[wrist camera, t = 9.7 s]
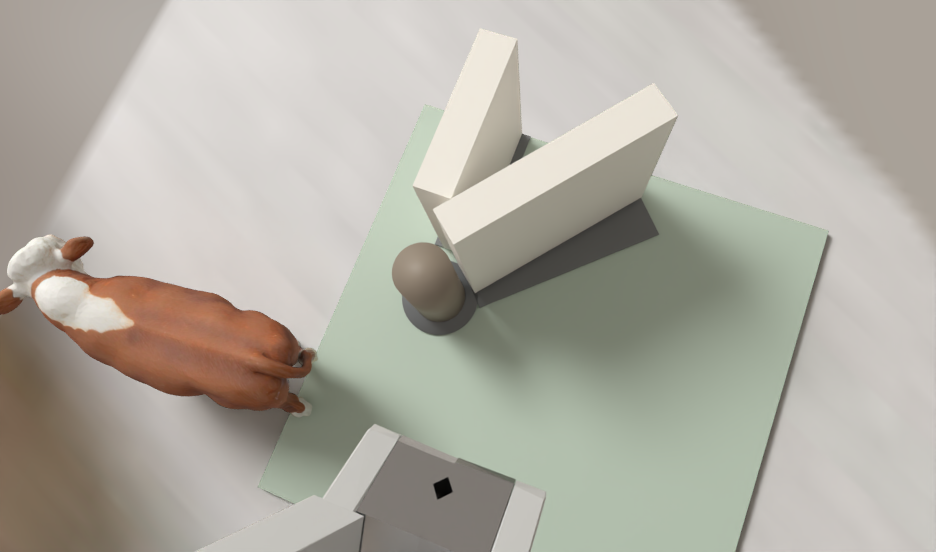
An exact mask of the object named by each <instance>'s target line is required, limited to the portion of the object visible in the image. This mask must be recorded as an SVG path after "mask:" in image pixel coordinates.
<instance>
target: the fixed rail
mask: <svg viewBox="0 0 936 552" xmlns="http://www.w3.org/2000/svg"><path fill="white" fill-rule="evenodd" d="M521 135H522V124H521V104H520V83H519V63H518V43H517V39H516V38H512V37H509V36H505V35H502V34H498V33H495V32H491V31H488V30H484V29H481V28H480V29H479V32H478V34H477V36H476V39H475V41H474V43H473V46H472V48H471V50H470V53H469V55H468V57H467V60H466V62H465V64H464V67H463V69H462V71H461V74H460V76H459V78H458V81H457V83H456V85H455V88H454V90H453V92H452V95H451V97H450V99H449V102H448V104H447V106H446V109H445V111H444V113H443V116H442V118H441V120H440V123H439V125H438V127H437V130H436V132H435V134H434V137H433V139H432V141H431V144H430V146H429V148H428V151H427V153H426V155H425V158H424V160H423V162H422V165H421V167H420V169H419V172H418V174H417V176H416V179H415V181H414V183H413V188H414V190H415V192H416V194H417V196H418V198H419V200H420V202H421V204H422V206H423V208H424V210H425V212H426V214H427V216H428V218H429V220H430V222H431V224H432V226H433V228H434V230H435V232H436V234H437V236H438V237H439V239H440V241H441V243H442V245H443V247H444V248H446V249H449V250H451V248H450V246H449V243H448V241H447V239H446V237H445V235H444V233H443V231H442V228H441V226H440V224H439V222H438V220H437V218H436V216H435V213H434V211H433V209H434V208H436V207H437V206H439V205H441V204H443V203H444V202H446V201H448V200H450V199H451V198H453V197H455V196H457V195H458V194H460V193H462V192H464V191H465V190H467V189H469V188H471V187H472V186H474V185H476V184H478V183H479V182H481V181H483V180H485V179H486V178H488V177H490V176H492V175H493V174H495V173H497V172H499V171H500V170H502V169H504V168H506V167H507V166H509V165H510V163H511V160H512V158H513V155H514V153H515V150H516V148H517V145H518V143H519V140H520V138H521ZM392 279H393V282H394V285H395V287H396V288H397V290H398V291H399V292H400V293H401V294H402V295H403V296H404V297H405V298H406V299H407V301H408V302H409V303H410V304H411V305H412V306H413V307H414V308H415V309H416V310H417V311H418V312H419V313H420V314H421V315H422V316H423V317H425V318H426V319H428V320H430V321H434V322H444V321H448V320H450V319H452V318H454V317H455V316H456V315H457V314H458V313H459V312H460V311H461V309H462V307H463V305H464V302H465V290H464V287H463V285H462V283H461V281H460V279H459V277H458V275H457V273H456V271H455V269H454V267H453V265H452V263H451V261H450V259H449V257H448V255H447V254H446V253H445V252H444V251H443V250H442V249H441V248H440V247H438V246H437V245H434V244H431V243H427V242H420V243H415V244H412V245H409V246H408V247H406V248H404V249H403V250H402V251H401V252H400V253H399V254H398V256H397V257H396V259H395V261H394V263H393V267H392Z"/></svg>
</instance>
